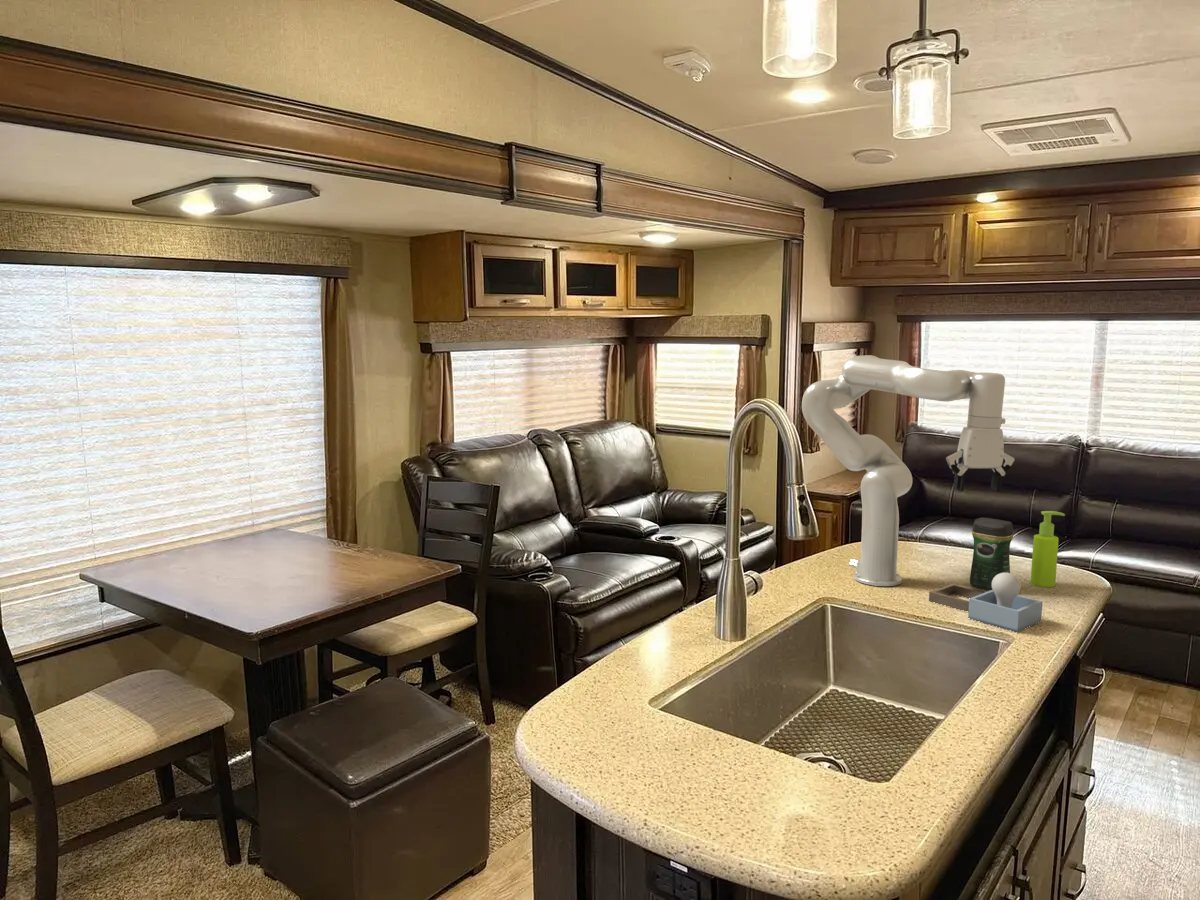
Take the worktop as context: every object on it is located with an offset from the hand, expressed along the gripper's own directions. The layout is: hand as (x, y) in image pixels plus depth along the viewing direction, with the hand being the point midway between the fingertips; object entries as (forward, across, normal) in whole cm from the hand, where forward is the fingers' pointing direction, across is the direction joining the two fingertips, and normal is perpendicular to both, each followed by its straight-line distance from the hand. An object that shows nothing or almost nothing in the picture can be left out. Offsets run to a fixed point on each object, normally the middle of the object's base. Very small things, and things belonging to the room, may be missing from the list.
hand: (977, 490), depth 205 cm
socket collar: (+28, +3, +3) cm, 29 cm away
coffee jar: (+28, -11, -8) cm, 31 cm away
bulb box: (+28, 0, +16) cm, 32 cm away
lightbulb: (+27, 0, +16) cm, 32 cm away
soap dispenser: (+28, -27, -9) cm, 40 cm away
